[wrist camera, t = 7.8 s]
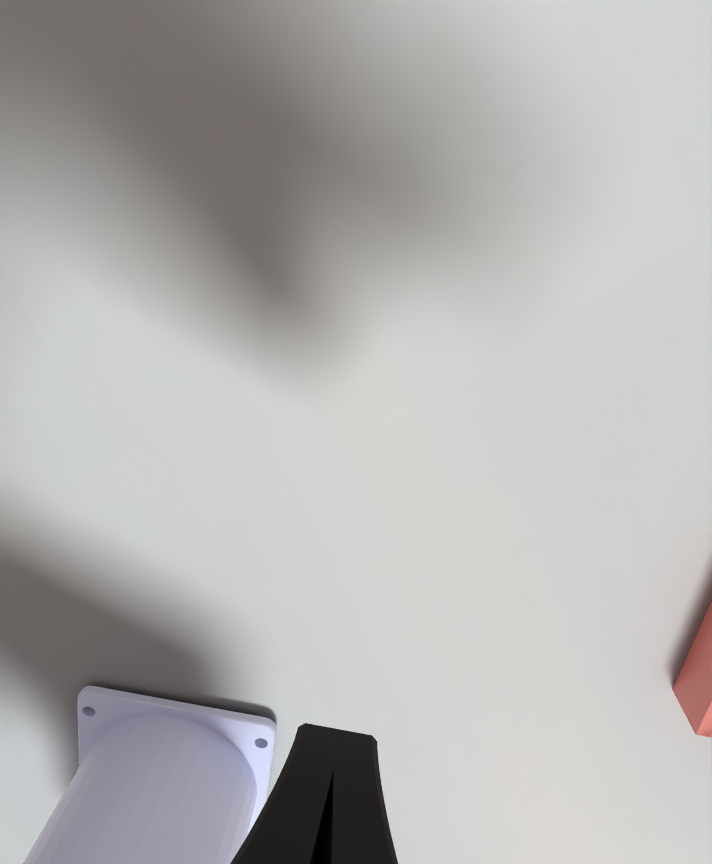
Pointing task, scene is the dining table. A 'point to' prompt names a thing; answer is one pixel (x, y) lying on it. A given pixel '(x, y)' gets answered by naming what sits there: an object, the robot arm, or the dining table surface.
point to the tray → (698, 680)
